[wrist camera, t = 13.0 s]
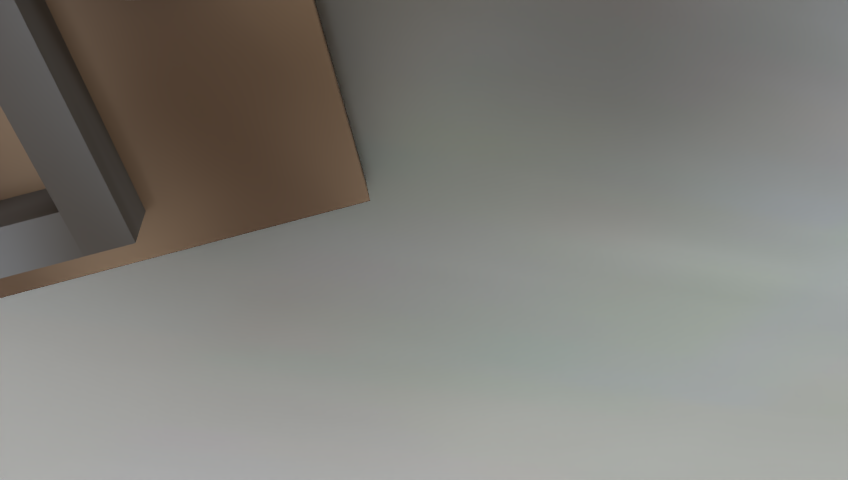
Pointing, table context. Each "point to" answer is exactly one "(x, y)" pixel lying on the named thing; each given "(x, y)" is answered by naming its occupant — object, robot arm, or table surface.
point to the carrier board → (161, 130)
